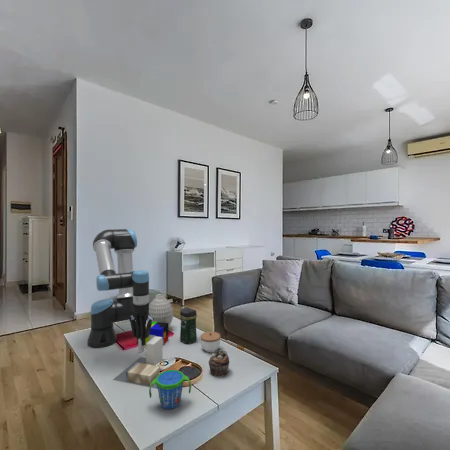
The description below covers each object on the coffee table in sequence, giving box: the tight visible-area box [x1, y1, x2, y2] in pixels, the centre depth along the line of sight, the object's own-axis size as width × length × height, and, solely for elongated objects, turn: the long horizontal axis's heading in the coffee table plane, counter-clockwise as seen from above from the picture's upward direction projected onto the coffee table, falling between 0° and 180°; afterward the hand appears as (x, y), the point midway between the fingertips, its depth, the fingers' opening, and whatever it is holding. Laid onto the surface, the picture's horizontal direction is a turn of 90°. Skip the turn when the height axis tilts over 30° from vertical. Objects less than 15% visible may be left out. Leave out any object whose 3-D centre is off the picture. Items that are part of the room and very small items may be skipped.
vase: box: [146, 293, 174, 328], centre depth 174 cm, size 16×16×22 cm
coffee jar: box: [179, 306, 198, 344], centre depth 160 cm, size 10×8×19 cm
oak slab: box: [126, 363, 160, 386], centre depth 122 cm, size 4×8×12 cm
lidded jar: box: [199, 331, 221, 354], centre depth 149 cm, size 11×11×9 cm
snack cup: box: [148, 370, 192, 410], centre depth 106 cm, size 16×10×10 cm
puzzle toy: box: [144, 322, 169, 347], centre depth 157 cm, size 10×10×10 cm
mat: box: [112, 356, 158, 390], centre depth 127 cm, size 26×21×1 cm
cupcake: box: [208, 348, 230, 378], centre depth 127 cm, size 10×10×10 cm
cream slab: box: [145, 336, 164, 366], centre depth 132 cm, size 4×8×12 cm, turn 163°
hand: (141, 351), depth 134 cm, fingers closed
